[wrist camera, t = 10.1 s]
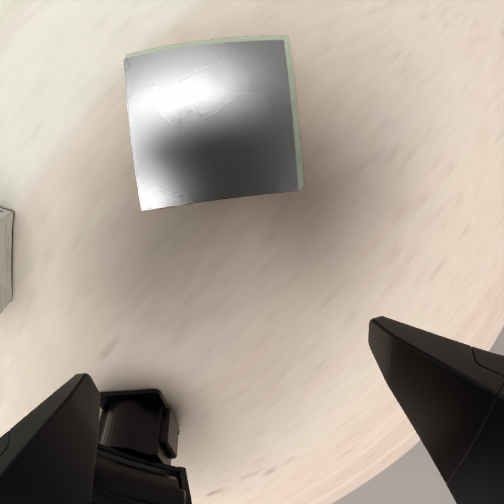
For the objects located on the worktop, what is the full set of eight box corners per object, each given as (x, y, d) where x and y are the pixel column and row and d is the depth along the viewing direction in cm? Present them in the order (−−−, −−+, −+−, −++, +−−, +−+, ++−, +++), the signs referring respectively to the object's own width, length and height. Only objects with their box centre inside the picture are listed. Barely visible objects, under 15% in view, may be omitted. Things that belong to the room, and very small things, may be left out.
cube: (164, 188, 13) (141, 210, 8) (152, 85, 11) (124, 59, 7) (270, 174, 13) (298, 190, 9) (260, 72, 11) (283, 39, 7)
